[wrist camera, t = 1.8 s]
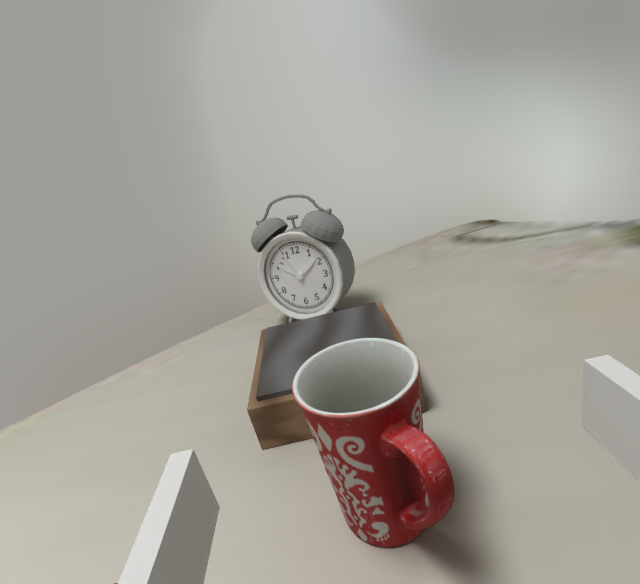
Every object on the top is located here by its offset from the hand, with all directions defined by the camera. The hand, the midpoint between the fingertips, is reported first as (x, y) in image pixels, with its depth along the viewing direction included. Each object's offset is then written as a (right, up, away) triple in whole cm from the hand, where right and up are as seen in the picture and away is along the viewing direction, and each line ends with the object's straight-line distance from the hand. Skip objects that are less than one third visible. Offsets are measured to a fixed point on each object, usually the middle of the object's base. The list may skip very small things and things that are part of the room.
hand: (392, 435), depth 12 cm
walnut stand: (0, -7, +36) cm, 36 cm away
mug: (+4, -13, +17) cm, 22 cm away
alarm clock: (-3, 0, +55) cm, 55 cm away
